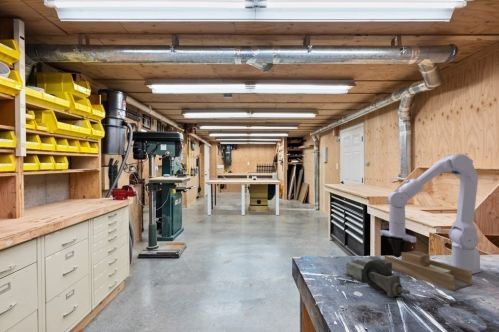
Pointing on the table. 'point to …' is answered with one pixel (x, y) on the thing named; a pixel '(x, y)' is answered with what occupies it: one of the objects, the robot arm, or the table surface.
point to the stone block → (362, 267)
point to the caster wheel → (383, 278)
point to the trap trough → (434, 273)
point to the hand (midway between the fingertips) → (397, 256)
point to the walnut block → (417, 258)
